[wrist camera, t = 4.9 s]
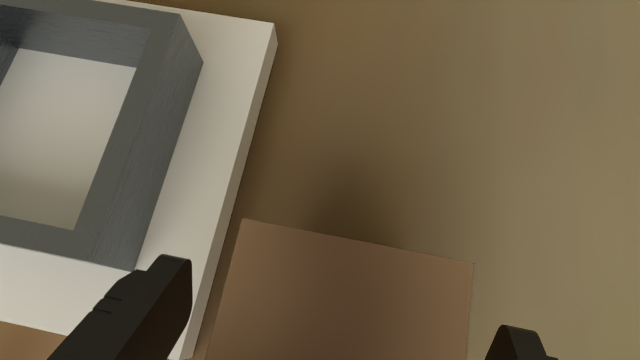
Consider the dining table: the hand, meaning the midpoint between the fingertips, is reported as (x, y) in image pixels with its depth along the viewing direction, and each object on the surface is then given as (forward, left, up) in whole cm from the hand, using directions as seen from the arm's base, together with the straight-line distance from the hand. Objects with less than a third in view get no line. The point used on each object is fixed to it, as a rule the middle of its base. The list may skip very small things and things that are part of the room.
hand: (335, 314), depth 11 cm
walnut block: (0, 0, -5) cm, 5 cm away
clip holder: (+12, -5, -5) cm, 14 cm away
